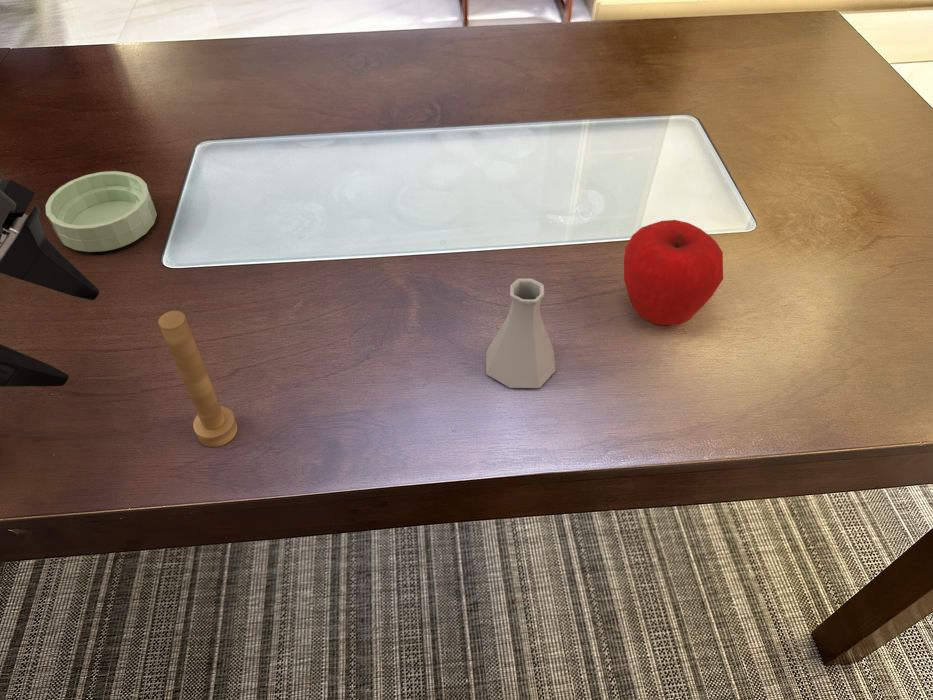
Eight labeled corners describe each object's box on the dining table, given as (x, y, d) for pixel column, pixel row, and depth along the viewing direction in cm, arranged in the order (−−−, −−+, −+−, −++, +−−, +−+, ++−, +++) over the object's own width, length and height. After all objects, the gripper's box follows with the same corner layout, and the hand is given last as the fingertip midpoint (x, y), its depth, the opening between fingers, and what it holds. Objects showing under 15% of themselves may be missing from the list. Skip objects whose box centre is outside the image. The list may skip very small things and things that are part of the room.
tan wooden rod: (194, 448, 65) (142, 337, 54) (200, 417, 67) (152, 304, 57) (235, 445, 65) (191, 334, 55) (239, 414, 68) (198, 301, 57)
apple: (724, 325, 76) (755, 244, 68) (652, 357, 73) (675, 275, 65) (665, 271, 82) (687, 190, 74) (595, 297, 79) (611, 216, 71)
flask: (564, 347, 74) (575, 273, 66) (546, 399, 69) (556, 325, 62) (496, 330, 75) (500, 256, 68) (474, 380, 71) (476, 306, 63)
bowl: (47, 258, 83) (32, 230, 80) (74, 201, 90) (61, 173, 87) (148, 253, 83) (136, 225, 80) (165, 196, 91) (156, 169, 88)
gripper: (-198, 248, 37) (102, 373, 46) (-57, 76, 50) (157, 200, 59) (-250, 361, 42) (28, 453, 51) (-110, 179, 55) (94, 279, 64)
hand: (82, 336), depth 56 cm, fingers open, 9 cm apart
